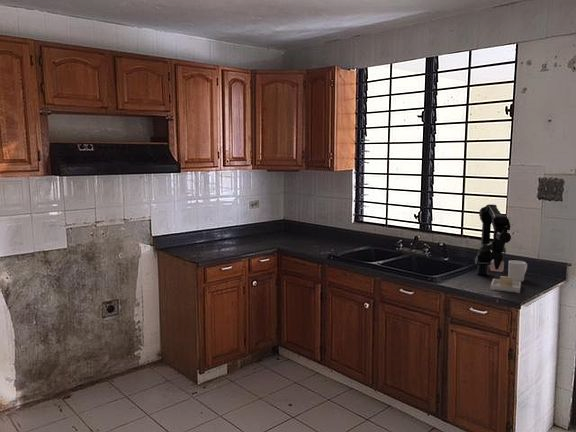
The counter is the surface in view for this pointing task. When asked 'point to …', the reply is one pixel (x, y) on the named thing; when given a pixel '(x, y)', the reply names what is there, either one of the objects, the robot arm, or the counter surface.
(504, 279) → the oak block
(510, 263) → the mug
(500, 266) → the rose box
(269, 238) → the counter surface
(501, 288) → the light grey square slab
